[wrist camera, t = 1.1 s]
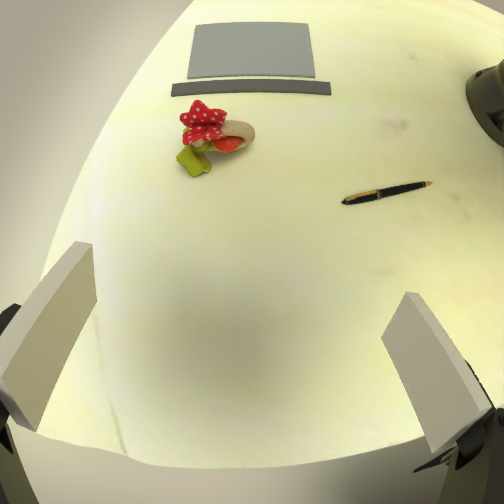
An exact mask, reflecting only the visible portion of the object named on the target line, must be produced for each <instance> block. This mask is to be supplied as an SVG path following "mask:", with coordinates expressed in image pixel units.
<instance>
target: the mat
mask: <svg viewBox="0 0 504 504" xmlns="http://www.w3.org/2000/svg"><path fill="white" fill-rule="evenodd" d="M228 76H290V77H309V78H315V70H314V63H313V55H312V48H311V41H310V34H309V27H308V24H305V23H288V22H232V23H215V24H203V25H196V28H195V33H194V39H193V44H192V50H191V56H190V63H189V69H188V76H187V78H188V79H196V78H209V77H228ZM237 92H280V93H305V94H320V95H331V86H330V82H320V81H305V80H282V79H236V80H213V81H198V82H187V83H177V84H173V85H172V91H171V96H172V97H174V96H185V95H197V94H212V93H237Z"/></svg>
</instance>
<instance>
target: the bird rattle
mask: <svg viewBox="0 0 504 504" xmlns="http://www.w3.org/2000/svg"><path fill="white" fill-rule="evenodd" d="M226 115H227V113H226V112H225V111H223V110H221V109H209V108H208V107H207V106H206V105H205V104H204V103H202V102H201V101H200V100H195V101H194V102H193V104H192V106H191V108H190V111H189V112H188V113H182V114H181V115H180V121H181V122H182V123H183V124H184V125H185V126H187V127H186V129H184V131H183V132H184V133H183V144H184V145H187V146H186V147H185V148H184V149H183V150H182V151H181V152H180V153H179V154H178V155H177V156H176V159H177V162H178V163H179V164H181V165H184V166H186V167H187V171H188V173H189V174H190V175H191V176H197V175H199V174H200V173H201V172H203V171H204V172H206V173H208V172H209V171H210V168H211V163H210V162H209V160H208V159H207V158H206V157H205V156H204V154H203V153H202V152H207V151H220V152H224V153H228V152H232V151H237V150H239V149H240V148H242V147H245V146H247V145H249V144H250V143H251V142H252V141H253V140H254V138H255V131H254V128H253V127H252V126H251V125H250V124H247V123H245V122H240V121H225V118H226ZM190 128H192V129H191V130H190Z"/></svg>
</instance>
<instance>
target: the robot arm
mask: <svg viewBox="0 0 504 504" xmlns="http://www.w3.org/2000/svg"><path fill="white" fill-rule="evenodd" d="M466 92H467V97H468V101H469V104H470V106H471V109H472V111H473V113H474V115H475V116H476V118H477V120H478V121H479V123H480V124H481V126H482V127H483V128H484V130H485V131H486V132H487V133H488V134H489V135H490V136H491V137H492V138H493V139H494V140H495V141H496V142H497V143H499V144H500V145H502V146H504V60H503V61H501V62H500V63H499V64H498V65H496V66H493V67H490V68H487V69H484V70H481V71H478V72H476V73H475V74H474V75H473V76H472V77H471V78H470V79H469V80H468V82H467V86H466ZM96 302H97V297H96V288H95V277H94V264H93V248H92V244H88V243H83V242H77V241H75V242H74V243H73V245H72V246H71V247H70V248H69V249H68V250H67V251H66V252H65V253H64V255H63V256H62V257H61V258H60V259H59V260H58V262H57V263H56V264H55V265H54V266H53V267H52V269H51V270H50V271H49V272H48V273H47V275H46V276H45V277H44V278H43V279H42V281H41V282H40V283H39V284H38V286H37V287H36V288H35V289H34V291H33V292H32V293H31V295H30V296H29V298H28V299H27V300H26V301H25V302H24V304H23V305H22V306H21V305H18V304H13V305H11V306H10V307H8V308H7V309H5V310H4V311H3V312H2V313H1V314H0V504H39V502H38V500H37V498H36V496H35V494H34V492H33V490H32V487H31V485H30V483H29V480H28V478H27V476H26V474H25V471H24V468H23V466H22V463H21V461H20V458H19V455H18V453H17V450H16V447H15V444H14V441H13V438H12V435H11V432H10V428H9V426H8V424H7V419H8V417H9V415H11V417H12V418H13V420H14V421H15V422H16V424H18V425H20V426H23V427H25V428H27V429H29V430H32V431H34V432H36V431H37V429H38V426H39V423H40V421H41V418H42V416H43V413H44V411H45V408H46V406H47V403H48V401H49V398H50V396H51V394H52V391H53V389H54V387H55V384H56V382H57V380H58V378H59V376H60V373H61V371H62V369H63V367H64V365H65V363H66V360H67V358H68V356H69V354H70V352H71V350H72V348H73V346H74V344H75V342H76V340H77V338H78V336H79V334H80V332H81V330H82V328H83V326H84V324H85V322H86V320H87V319H88V317H89V315H90V313H91V311H92V309H93V307H94V306H95V304H96ZM381 339H382V341H383V343H384V345H385V347H386V349H387V351H388V353H389V355H390V357H391V359H392V361H393V363H394V366H395V368H396V370H397V372H398V374H399V376H400V378H401V381H402V383H403V385H404V387H405V389H406V392H407V394H408V396H409V398H410V401H411V403H412V405H413V408H414V410H415V412H416V415H417V417H418V419H419V422H420V424H421V427H422V429H423V432H424V434H425V436H426V439H427V441H428V444H429V446H430V449H431V452H432V454H433V453H436V452H439V451H443V450H446V449H447V448H448V447H449V446H451V445H452V444H453V443H454V442H455V441H456V442H457V445H458V446H457V447H456V448H454V449H453V450H452V451H451V452H450V453H448V454H447V455H446V456H445V457H443V458H442V460H441V463H443V462H444V461H446V460H447V459H448V458H449V457H451V459H450V460H449V461H448V462H447V463H446V465H448V466H449V468H448V472H447V475H446V478H445V482H444V485H443V488H442V492H441V495H440V498H439V501H438V504H504V409H503V408H498V409H497V410H496V408H495V407H494V405H493V403H492V402H491V400H490V398H489V396H488V394H487V393H486V391H485V389H484V388H483V386H482V384H481V383H480V382H479V379H478V378H477V376H476V375H475V373H474V371H473V369H472V368H471V366H470V365H469V363H468V362H467V361H466V360H465V359H464V358H463V357H462V355H461V354H460V352H459V351H458V349H457V348H456V346H455V345H454V343H453V342H452V340H451V339H450V337H449V336H448V334H447V333H446V331H445V330H444V328H443V327H442V325H441V324H440V323H439V321H438V320H437V318H436V317H435V316H434V314H433V313H432V311H431V310H430V309H429V307H428V306H427V304H426V303H425V302H424V300H423V299H422V298H421V296H420V295H419V294H418V293H411V292H406V293H405V295H404V297H403V299H402V301H401V303H400V304H399V306H398V308H397V310H396V312H395V314H394V316H393V317H392V319H391V321H390V323H389V325H388V326H387V328H386V330H385V332H384V333H383V335H382V337H381Z"/></svg>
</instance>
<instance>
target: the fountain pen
mask: <svg viewBox="0 0 504 504" xmlns="http://www.w3.org/2000/svg"><path fill="white" fill-rule="evenodd" d="M431 183H433V182H429V181H428V182H424V181H423V182H418V183H412V184H406V185H400V186H395V187H390V188H385V189H381V190H373V191H369V192H365V193H361V194H357V195H353V196H351V197H348V198H347V199H345V200H344V201H343V202H342V203H343V204H346V205H349V204H358V203H364V202H369V201H373V200H378V199H381V198H384V197H388V196H392V195H397V194H400V193H404V192H408V191H412V190H416V189H419V188H423V187H426V185H430V184H431Z"/></svg>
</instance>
